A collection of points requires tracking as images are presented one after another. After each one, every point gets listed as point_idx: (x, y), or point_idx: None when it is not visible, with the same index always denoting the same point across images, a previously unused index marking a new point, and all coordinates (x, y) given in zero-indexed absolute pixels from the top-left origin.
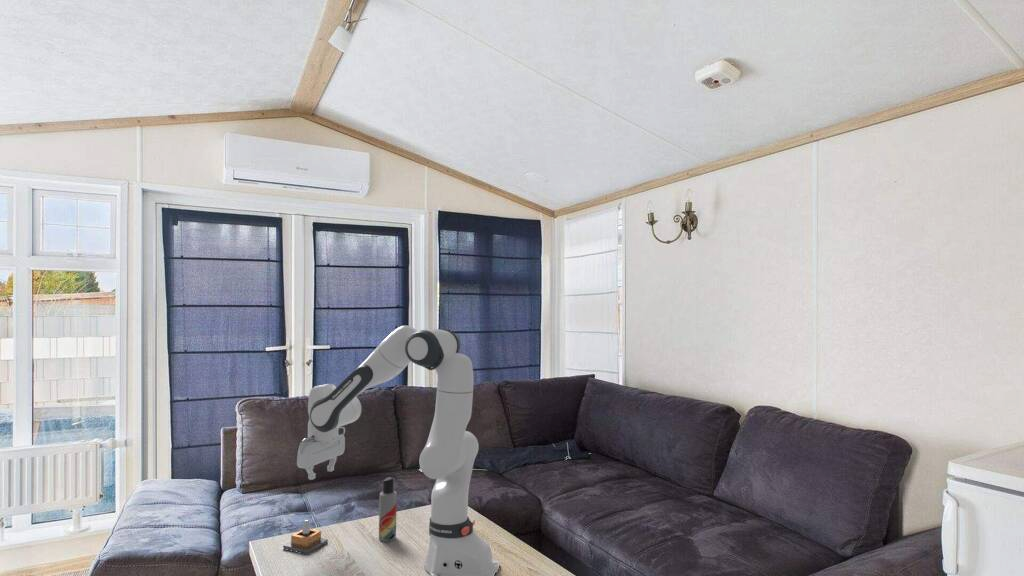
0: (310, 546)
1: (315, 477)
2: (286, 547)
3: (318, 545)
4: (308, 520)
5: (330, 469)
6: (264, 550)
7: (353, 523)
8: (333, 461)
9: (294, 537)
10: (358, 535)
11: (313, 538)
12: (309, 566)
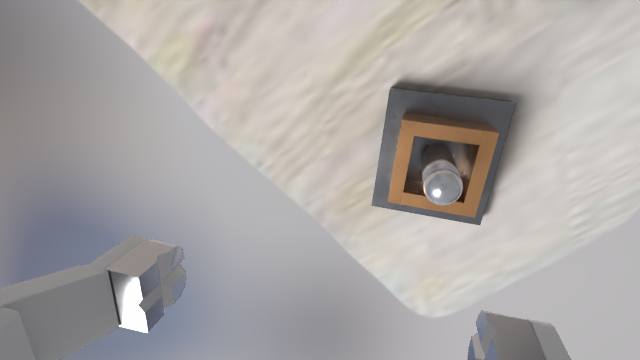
0: (470, 120)
1: (487, 313)
2: (483, 209)
3: (449, 95)
4: (441, 182)
5: (165, 265)
6: (494, 273)
7: (201, 92)
8: (38, 310)
9: (478, 199)
10: (288, 2)
11: (454, 123)
12: (634, 27)
